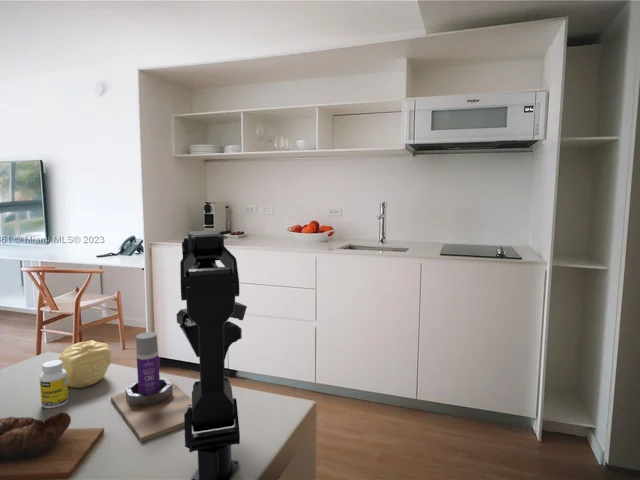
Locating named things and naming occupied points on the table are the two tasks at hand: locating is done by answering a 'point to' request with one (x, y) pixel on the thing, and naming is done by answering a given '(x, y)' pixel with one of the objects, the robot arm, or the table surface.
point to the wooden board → (154, 414)
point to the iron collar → (151, 398)
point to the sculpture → (85, 363)
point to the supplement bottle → (53, 384)
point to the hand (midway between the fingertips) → (208, 363)
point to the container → (147, 363)
